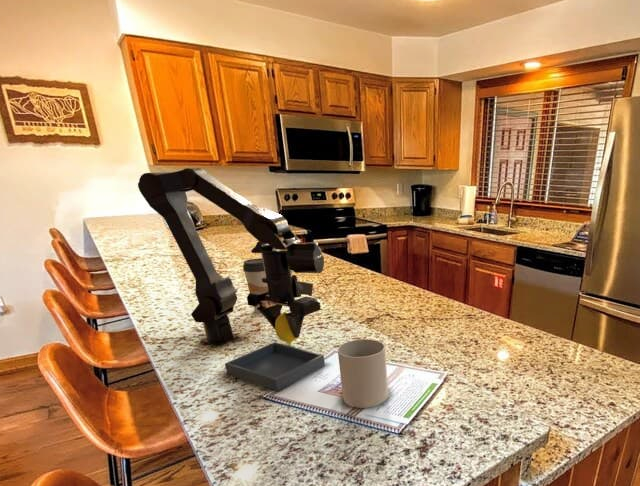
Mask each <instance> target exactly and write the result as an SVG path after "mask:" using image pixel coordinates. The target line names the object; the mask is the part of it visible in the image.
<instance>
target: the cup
mask: <svg viewBox="0 0 640 486" xmlns="http://www.w3.org/2000/svg"><path fill="white" fill-rule="evenodd" d="M386 355H387V353H386V345H385V344H384V342H382V341H379V340H377V339H369V338H364V339H363V338H361V339H354V340H349V341H346V342H344V343H341V344H340V345H339V346H338V348H337V356H338V365H339V373H340V374H339V375H340V382H341V383H340V384H341V391H342V392H341V394H342V399H343V402H344V404H346V405H348V407H351V408H352V407H353V408H358V409H365V408H366V409H368V408H372V407H373V408H374V407H376V406H379V405H381V404H382V403H384V402H386V401H387V399H388V396H389V387H388V369H387V356H386Z"/></svg>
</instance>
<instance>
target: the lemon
mask: <svg viewBox="0 0 640 486" xmlns="http://www.w3.org/2000/svg"><path fill="white" fill-rule="evenodd" d="M287 313H288V312H286V311H284V312H282V313H281V315H280V316H278V318H277V319H276V322H275V329H274V331H275V330H276V331H275V334H276V336H277V337H278V339H280V341H283V342H285V343H288V344H292V343H293V341H295V340H297V338H295V337H294V335H293V333H292V331H291V329H290V326H289V324H288V321H287V319H286V317H285V314H287Z"/></svg>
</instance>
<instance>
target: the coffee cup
mask: <svg viewBox="0 0 640 486" xmlns="http://www.w3.org/2000/svg"><path fill="white" fill-rule="evenodd" d="M242 271H243V272H244V276H245V279H246V283H247V284H246V285H247V288H248V292H249V293H251V292H255V291H258V290H262V289H268V287H267V283H263V282H262V278H264V277H266V276H265V270H264V265H263V259H262V257H261V258H260V257H259V258H250V259H246V260H244V261H243V265H242ZM257 307H259V304H258V306H256V307H255V306H253V309H254V311H255V312H256V314H260V315H263V314H262V313H261V312H260V311H259V310H257Z"/></svg>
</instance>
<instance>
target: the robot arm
mask: <svg viewBox="0 0 640 486" xmlns="http://www.w3.org/2000/svg"><path fill="white" fill-rule="evenodd" d="M137 187H138V190H139V192H140V194H141V195H142V197H143V198H144V200H145V201H146V203H147V205H148V206H149V207H150V208H151V209H152V210H153V211H155V212H156V213H157V214H159V215H160V216H161V218H163V219H164V221H165V223H166V225H167V227H168V229H169V231H170V233H171V235H172V237H173V239H174V241H175V242H176V244H177V246H178V248H179V250H180V252H181V255H182V256H183V258H184V260H185V262H186V264H187V266H188V268H189V270H190V271H191V274H192V275H193V278H194V280H195V288H194V289H195V291H194V292H195V293H194V294H195V296H196V300H197V302H198V304H197V306H196V307H195V308H194V310H193V311H192V312H191V313H190V314H191V317H192V318H193V321H194V322H195V323H202V327H203V330H204V334H205V338H202V339H200V342H201V343H203V344H207V345H210V346H214V347H219V346H222V345H224V344H227V343H230V342H232V341H235V340H237V339H239V338H240V336H239V335H237V334H234V332H233V328H232V324H231V320H230V317H229V316H228V314H231V313H233V312H234V306H235V305H236V303H237V301H238V296H237V293H238V290H237V289H236V288H235V286H234V283H233V280H232V278H231V277H230V276H227V277H224V276H222V275H221V274H220V273H218V271H217V269H216V267H215V266H214V263H213V262H212V259H211V258H210V255H209V254H208V252H207V249H206V247H205V245H204V243H203V241H202V239H201V237H200V235H199V233H198V230H197V229H196V227H195V225H194V223H193V221H192V218H191V217H190V215H189V212H188V196H187V192H192V191H194V192H195V193H197V194H198V195H200V196H202V197H203V198H204V199H206V200H207V201H208V202H211V203H212V204H214V205H215V206H217V207H218V208H220V209H221V210H223V211H224V212H226V213H228V214H229V215H231V216H232V217H233V218H235V219H237V220H238V221H239V222H240V223H241V224H242V225H243V227H244V228H245V230H246V232H247V233H249V234H250V235H251V236H252V237H253V238H254V239H255V240H257V242H256V244H255V246H254V247H253V248H252V249H251V251H250V252H251V253H252V254H261V258H262V259H263V265H264V270H265V276H266V277H264V278H262V282H263V283H267V287H268V289H262V290H258V291H255V292H251V293H250V292H249V293H248V295H247V296H246V300H247V301H246V302H247V305H248V306H251V307H254V306H255V307H256V306H258V304H259V307H257V310H259V311H260V312H261V313H262V314H261V315H262V316H263V317H264V318H265V319H266V321H267V322H268V323H269V324H270V325H271V327H272V328H273V330H274V331H275V332H276V330H275V322H276V319H277V318H278V316H280V315H281V314H282V313H281V312H282V309H283V307H287V308H289V312H286V313H287V314H285V317H286V319H287V321H288V324H289V326H290V329H291V331H292V333H293V335H294V337H295V338H296V339H299V338H300V335H301V331H302V327H303V322H304V319H305V317H306V316H308V315H311V314H313V313H316V312H318V311H321V309H322V308H321V301H320V300H319V299H318V298H317V297H312V296H313V290H314V283H311V282H306V281H300V280H298V276H297V274H321V273H322V272H323V270H324V266H325V257H324V254H323V252H322V250H321V248H320V247H319V243H318V241H310V242H301V240H300V239H299V238H298V236H297V235H296V234H295V232H293V230H292V229H291V228H290V227H289V224H288V220H287V218H285V217H284V216H283V215H281V214H279V213H277V212H275V211H273V210H271V209H268V208H265V207H262V206H259V205H256V204H254V203H252V202H250V201H249V200H248V199H246V198H245V197H244V196H241V195H240V194H239V193H237V192H235V191H234V190H232V189H231V188H230V187H227V186H226V185H225V184H223V183H222V182H220V181H219V180H218V179H216V178H215V177H213V176H212V175H210V174H209V173H208V172H207V171H206V170H204V169H203V168H200V167H186V168H183V169H181V170H177V171H172V172H170V171H163V172H161V171H160V172H159V171H158V172H157V171H156V172H144V173H143V174H141V175H140V177H139V179H138V182H137ZM292 271H293V272H292ZM292 273H295V274H292ZM303 295H304V296H303ZM302 296H303V297H302ZM295 298H297V299H295Z"/></svg>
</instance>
